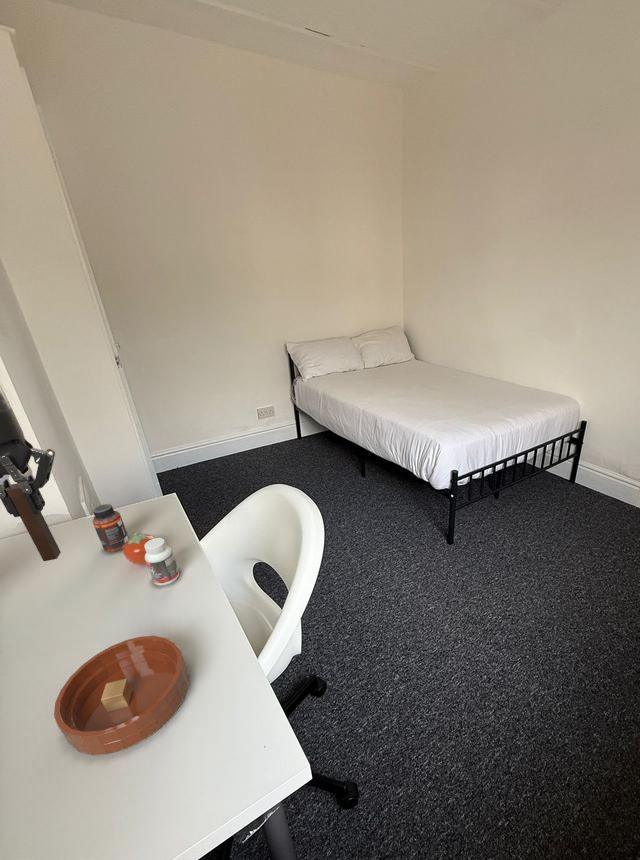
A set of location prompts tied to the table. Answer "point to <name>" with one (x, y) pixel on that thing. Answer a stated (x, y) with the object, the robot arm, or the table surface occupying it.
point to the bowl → (149, 704)
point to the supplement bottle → (109, 528)
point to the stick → (34, 525)
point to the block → (116, 695)
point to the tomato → (136, 548)
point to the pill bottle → (161, 562)
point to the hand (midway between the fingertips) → (29, 512)
